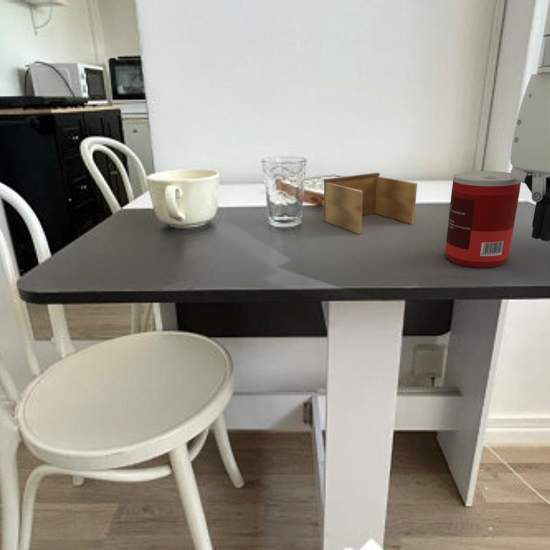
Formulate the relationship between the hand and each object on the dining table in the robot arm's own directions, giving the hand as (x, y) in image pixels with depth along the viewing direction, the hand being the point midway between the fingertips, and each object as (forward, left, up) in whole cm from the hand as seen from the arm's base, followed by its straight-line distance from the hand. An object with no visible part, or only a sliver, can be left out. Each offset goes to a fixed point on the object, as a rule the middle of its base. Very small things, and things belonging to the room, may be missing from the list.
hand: (547, 237), depth 49 cm
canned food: (+5, -8, -5) cm, 11 cm away
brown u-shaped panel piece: (+19, -27, -5) cm, 33 cm away
